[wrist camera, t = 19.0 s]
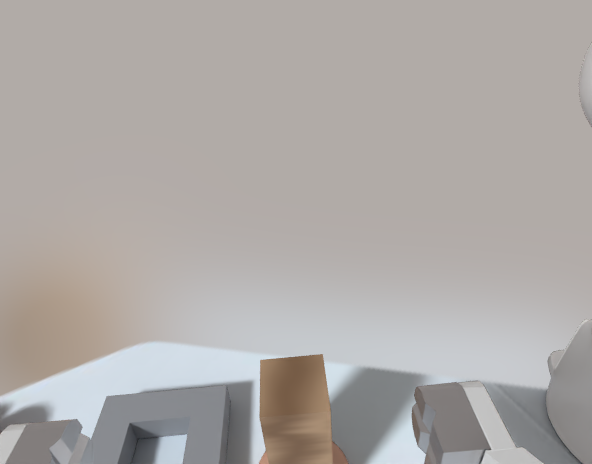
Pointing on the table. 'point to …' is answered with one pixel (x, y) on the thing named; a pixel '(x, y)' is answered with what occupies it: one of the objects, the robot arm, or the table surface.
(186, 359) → the table surface
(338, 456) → the terracotta coaster
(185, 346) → the table surface
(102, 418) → the pocket holder
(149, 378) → the table surface
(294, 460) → the walnut block
